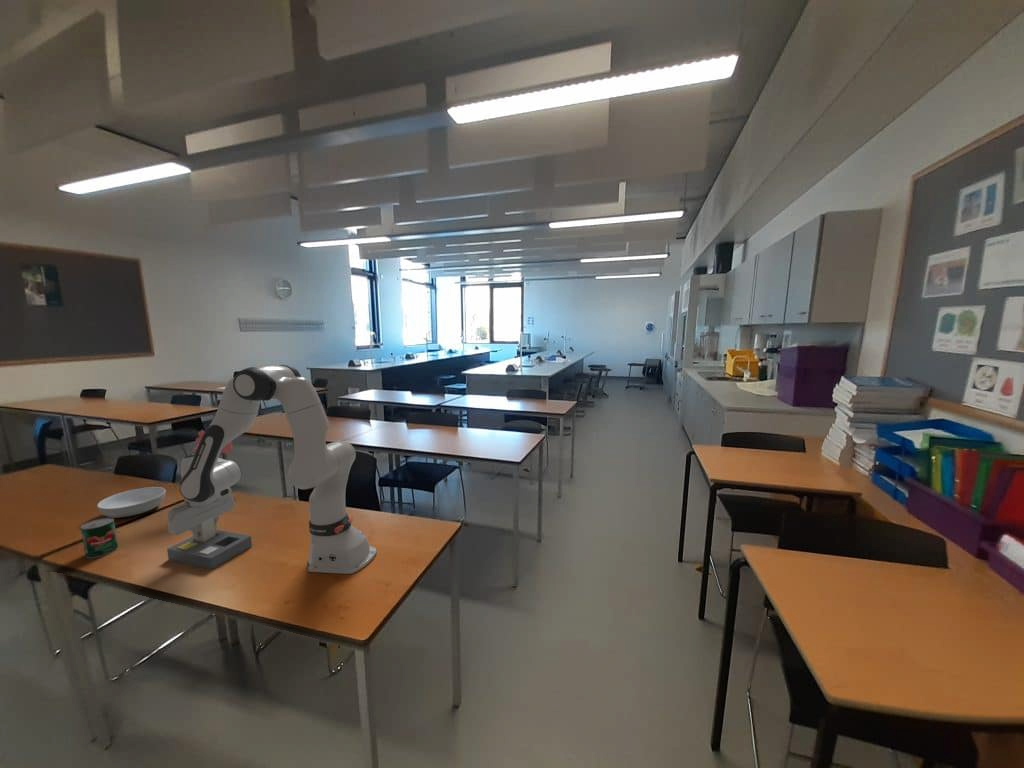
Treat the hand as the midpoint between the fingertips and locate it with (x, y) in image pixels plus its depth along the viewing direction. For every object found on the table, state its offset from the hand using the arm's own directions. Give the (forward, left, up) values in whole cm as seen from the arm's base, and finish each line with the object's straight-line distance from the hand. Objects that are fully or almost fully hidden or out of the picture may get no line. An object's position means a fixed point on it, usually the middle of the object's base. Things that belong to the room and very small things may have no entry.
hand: (205, 533), depth 134 cm
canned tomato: (+33, +12, -6) cm, 36 cm away
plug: (0, 0, -5) cm, 5 cm away
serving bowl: (+59, -12, -6) cm, 61 cm away
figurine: (+33, -26, -6) cm, 42 cm away
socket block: (-5, +2, -6) cm, 8 cm away
